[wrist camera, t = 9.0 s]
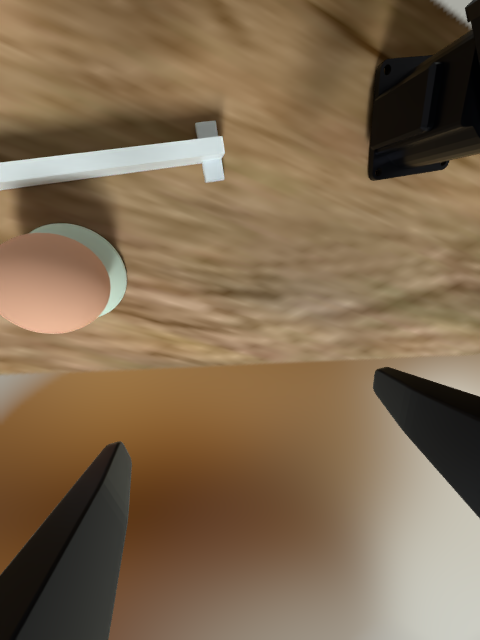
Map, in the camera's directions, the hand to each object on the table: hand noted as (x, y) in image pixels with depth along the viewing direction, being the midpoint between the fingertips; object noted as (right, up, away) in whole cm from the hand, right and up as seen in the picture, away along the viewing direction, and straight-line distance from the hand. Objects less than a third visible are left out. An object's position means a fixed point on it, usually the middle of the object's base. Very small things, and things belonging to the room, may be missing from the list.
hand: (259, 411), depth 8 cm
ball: (-12, +6, +8) cm, 15 cm away
